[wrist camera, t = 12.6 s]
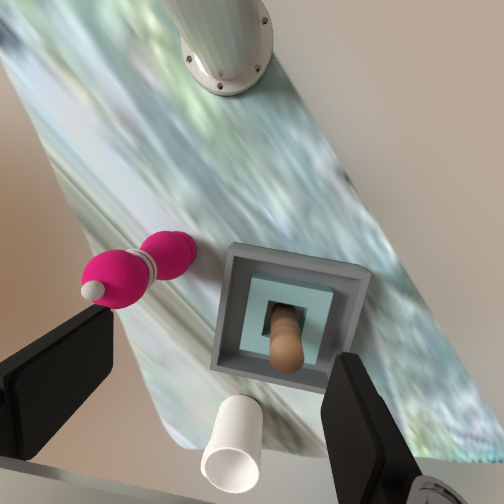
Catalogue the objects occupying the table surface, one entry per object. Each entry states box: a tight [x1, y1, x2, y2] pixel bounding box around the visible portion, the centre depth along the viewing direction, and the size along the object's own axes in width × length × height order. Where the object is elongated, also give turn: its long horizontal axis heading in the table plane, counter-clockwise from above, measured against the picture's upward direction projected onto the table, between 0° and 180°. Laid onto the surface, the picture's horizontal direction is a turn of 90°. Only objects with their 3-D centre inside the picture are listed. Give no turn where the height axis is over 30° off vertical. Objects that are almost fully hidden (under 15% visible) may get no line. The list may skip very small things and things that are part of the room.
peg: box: [269, 302, 304, 374], centre depth 33 cm, size 4×4×12 cm
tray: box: [210, 242, 371, 395], centre depth 38 cm, size 20×20×5 cm
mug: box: [201, 395, 263, 493], centre depth 41 cm, size 12×8×10 cm
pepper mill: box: [81, 231, 196, 309], centre depth 30 cm, size 7×7×20 cm
